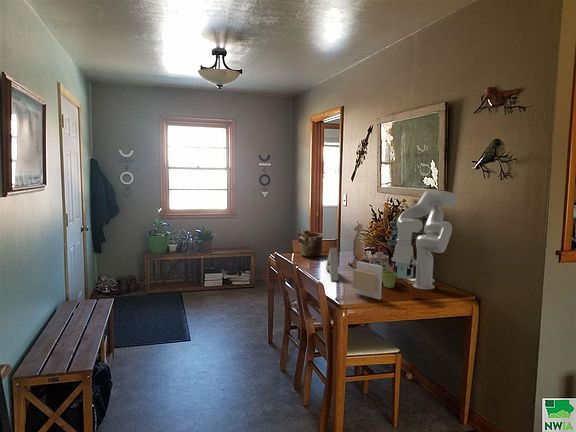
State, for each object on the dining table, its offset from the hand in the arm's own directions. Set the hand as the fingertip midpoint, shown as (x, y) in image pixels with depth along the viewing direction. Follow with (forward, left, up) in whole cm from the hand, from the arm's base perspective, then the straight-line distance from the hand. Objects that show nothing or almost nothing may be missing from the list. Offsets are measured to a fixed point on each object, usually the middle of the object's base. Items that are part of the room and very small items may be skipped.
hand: (403, 273), depth 245 cm
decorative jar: (-18, -28, -12) cm, 35 cm away
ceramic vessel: (-45, -110, -12) cm, 119 cm away
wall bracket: (-6, -57, -12) cm, 58 cm away
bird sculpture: (-42, -62, -12) cm, 76 cm away
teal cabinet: (-4, 0, -2) cm, 4 cm away
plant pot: (-10, -15, -12) cm, 22 cm away
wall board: (+19, -11, -12) cm, 25 cm away
